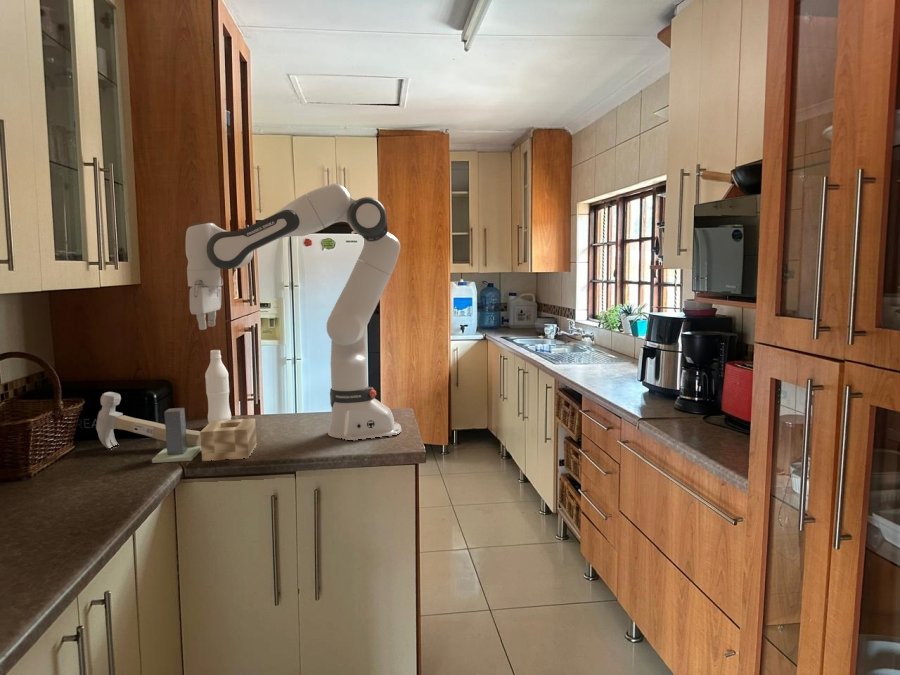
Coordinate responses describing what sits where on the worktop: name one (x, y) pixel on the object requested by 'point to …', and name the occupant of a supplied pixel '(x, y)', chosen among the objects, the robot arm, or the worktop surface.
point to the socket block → (228, 439)
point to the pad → (186, 456)
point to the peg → (175, 431)
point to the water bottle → (217, 389)
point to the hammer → (131, 424)
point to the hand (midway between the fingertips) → (207, 327)
